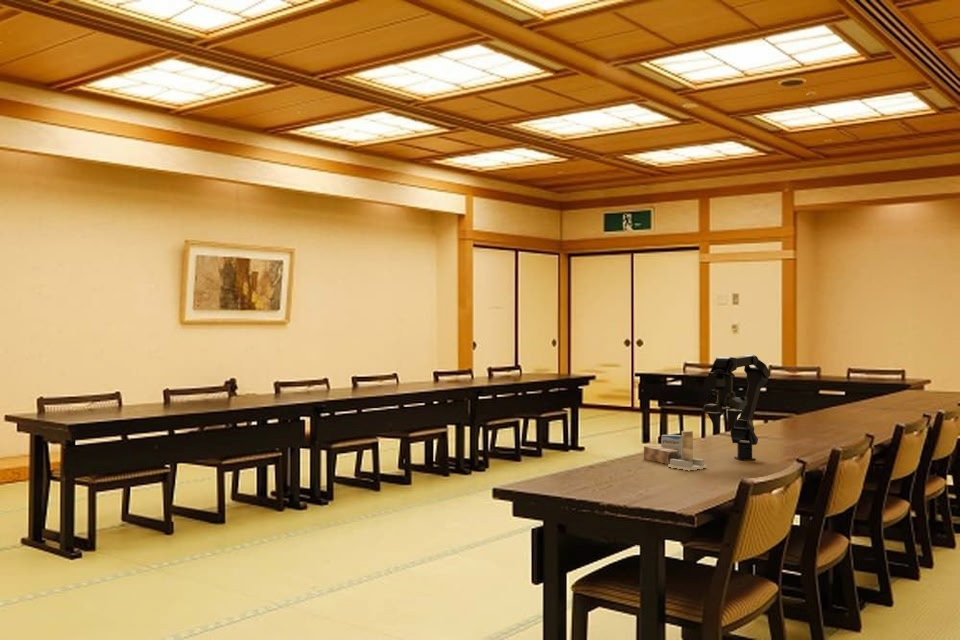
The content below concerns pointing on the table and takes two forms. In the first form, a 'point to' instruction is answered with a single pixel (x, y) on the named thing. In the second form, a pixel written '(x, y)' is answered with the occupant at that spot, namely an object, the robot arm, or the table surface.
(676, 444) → the medicine box
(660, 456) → the beam
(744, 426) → the robot arm
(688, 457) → the dowel
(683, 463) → the cradle
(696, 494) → the table surface
